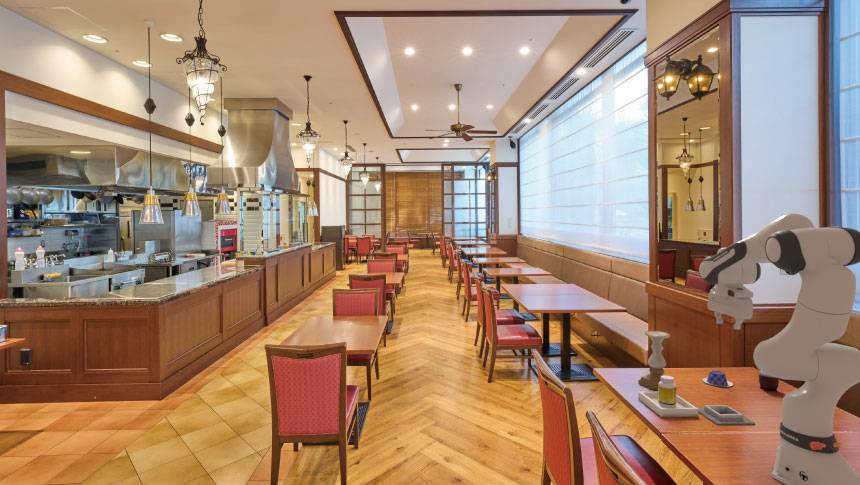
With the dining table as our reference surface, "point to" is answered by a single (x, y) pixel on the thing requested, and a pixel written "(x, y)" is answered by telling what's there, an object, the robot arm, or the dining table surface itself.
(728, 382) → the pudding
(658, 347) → the candle holder
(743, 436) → the dining table surface
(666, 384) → the pill bottle
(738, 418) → the steel collar
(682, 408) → the tray
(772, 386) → the mate gourd
